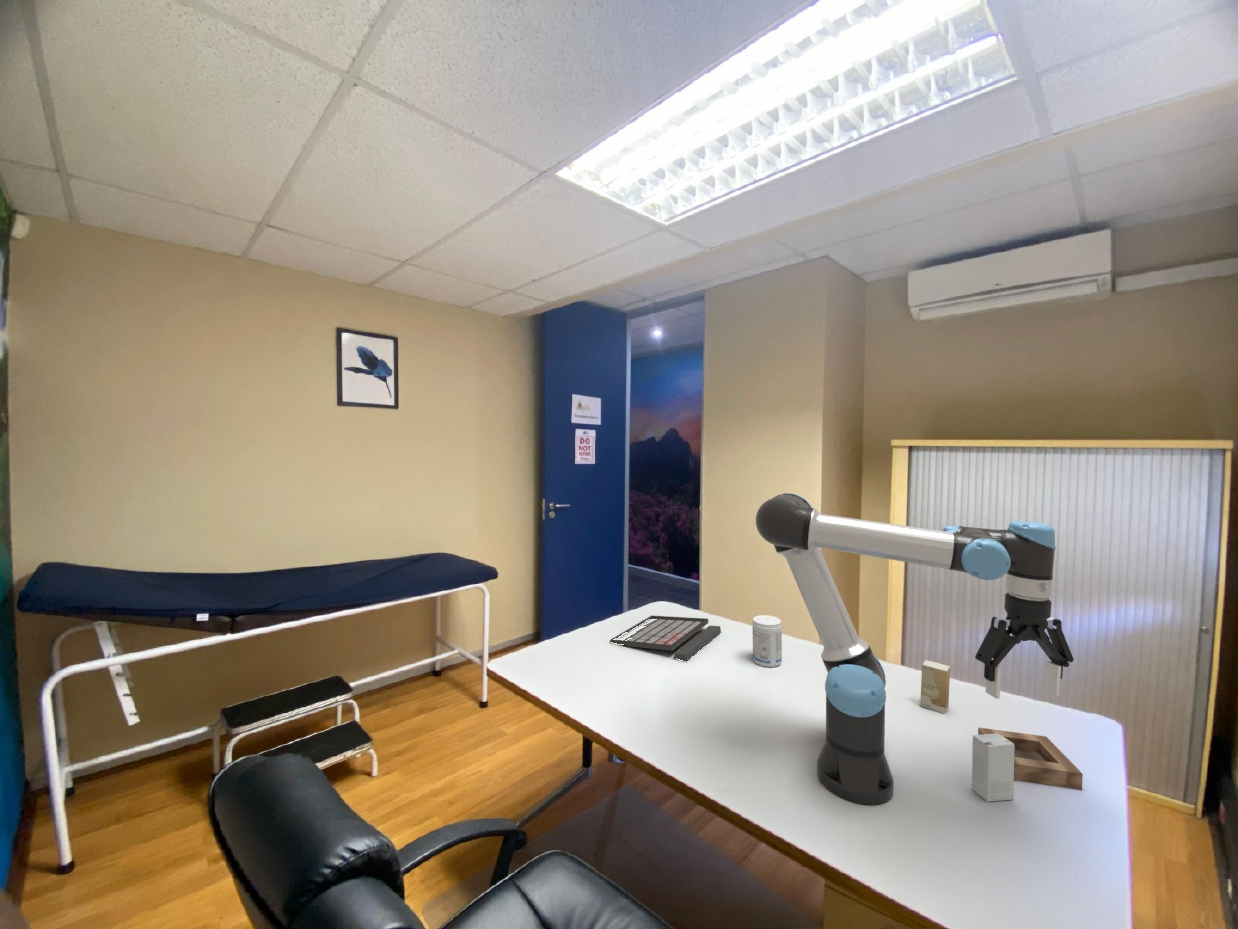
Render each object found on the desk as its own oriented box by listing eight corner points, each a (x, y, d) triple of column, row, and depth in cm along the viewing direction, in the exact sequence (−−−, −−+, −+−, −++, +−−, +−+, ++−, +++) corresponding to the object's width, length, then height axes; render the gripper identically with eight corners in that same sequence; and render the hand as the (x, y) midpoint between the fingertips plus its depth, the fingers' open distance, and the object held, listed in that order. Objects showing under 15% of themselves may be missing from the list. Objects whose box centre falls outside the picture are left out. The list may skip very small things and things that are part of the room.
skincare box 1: (919, 706, 138) (920, 663, 138) (923, 700, 141) (923, 659, 141) (946, 715, 134) (947, 670, 133) (949, 708, 137) (950, 665, 136)
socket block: (1004, 777, 108) (1004, 762, 108) (977, 741, 122) (978, 727, 121) (1082, 789, 104) (1082, 773, 104) (1045, 750, 118) (1046, 736, 118)
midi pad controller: (612, 658, 185) (687, 667, 168) (609, 640, 185) (684, 647, 168) (653, 627, 211) (721, 632, 194) (650, 611, 211) (719, 615, 194)
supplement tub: (772, 654, 173) (772, 613, 173) (787, 666, 164) (787, 623, 163) (747, 657, 171) (747, 616, 171) (761, 669, 162) (761, 625, 161)
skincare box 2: (996, 786, 105) (997, 731, 105) (1015, 801, 101) (1016, 744, 101) (969, 788, 105) (970, 733, 104) (987, 803, 100) (988, 746, 100)
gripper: (987, 602, 98) (982, 705, 99) (1100, 600, 100) (1094, 702, 101) (958, 590, 105) (953, 687, 106) (1064, 589, 108) (1058, 684, 109)
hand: (1022, 694), depth 104 cm, fingers open, 13 cm apart
